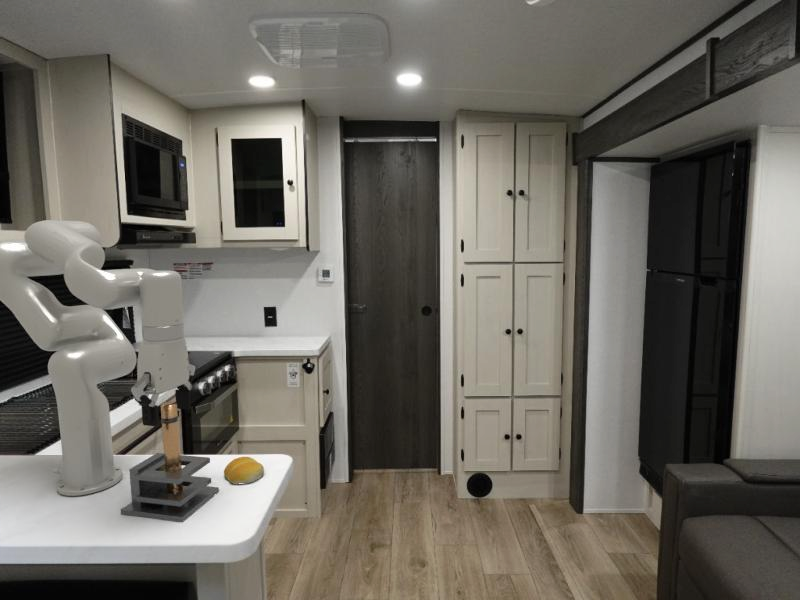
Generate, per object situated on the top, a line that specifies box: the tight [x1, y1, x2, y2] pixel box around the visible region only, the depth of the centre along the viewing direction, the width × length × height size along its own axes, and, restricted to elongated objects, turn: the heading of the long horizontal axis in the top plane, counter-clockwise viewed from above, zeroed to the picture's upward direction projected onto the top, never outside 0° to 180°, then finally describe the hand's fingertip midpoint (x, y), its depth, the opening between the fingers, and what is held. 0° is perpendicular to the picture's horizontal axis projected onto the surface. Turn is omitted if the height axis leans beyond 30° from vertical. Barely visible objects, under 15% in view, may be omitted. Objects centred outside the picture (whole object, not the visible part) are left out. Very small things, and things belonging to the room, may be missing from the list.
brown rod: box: [160, 401, 183, 494], centre depth 102 cm, size 3×3×20 cm
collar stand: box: [120, 452, 220, 523], centre depth 103 cm, size 14×12×8 cm
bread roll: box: [223, 456, 265, 485], centre depth 114 cm, size 8×9×4 cm
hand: (167, 416), depth 101 cm, fingers open, 9 cm apart
